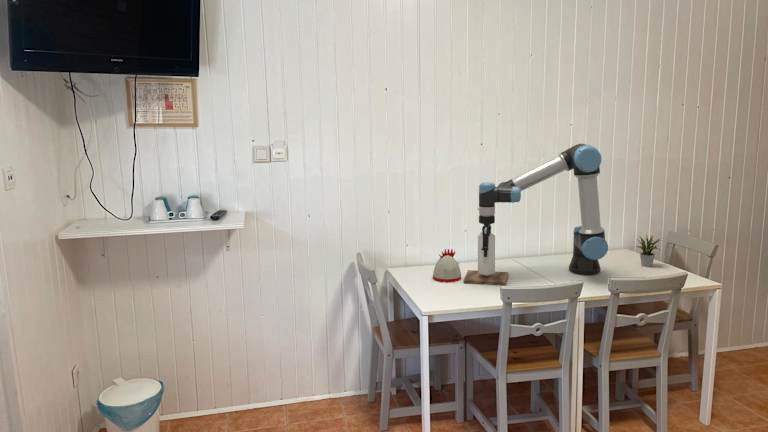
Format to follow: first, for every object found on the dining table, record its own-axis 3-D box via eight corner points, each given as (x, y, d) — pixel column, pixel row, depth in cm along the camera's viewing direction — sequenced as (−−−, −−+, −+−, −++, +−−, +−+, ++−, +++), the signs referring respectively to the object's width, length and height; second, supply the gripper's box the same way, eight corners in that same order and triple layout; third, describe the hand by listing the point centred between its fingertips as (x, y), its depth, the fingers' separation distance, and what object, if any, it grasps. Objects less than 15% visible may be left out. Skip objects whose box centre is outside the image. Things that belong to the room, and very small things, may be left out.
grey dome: (464, 281, 301) (464, 251, 299) (436, 283, 299) (436, 253, 296) (456, 273, 315) (456, 244, 312) (430, 275, 313) (429, 246, 310)
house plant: (664, 270, 311) (666, 239, 308) (634, 269, 315) (636, 237, 312) (661, 263, 324) (663, 232, 321) (632, 261, 329) (634, 231, 325)
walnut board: (508, 274, 310) (508, 271, 310) (505, 285, 293) (505, 282, 293) (468, 272, 315) (468, 270, 315) (463, 283, 298) (463, 280, 298)
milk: (486, 275, 300) (486, 231, 295) (477, 273, 304) (477, 229, 300) (495, 273, 303) (495, 229, 299) (486, 270, 308) (486, 227, 304)
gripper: (481, 210, 309) (480, 255, 313) (476, 218, 289) (476, 266, 293) (496, 211, 307) (496, 255, 312) (492, 219, 287) (492, 266, 292)
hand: (486, 260), depth 302 cm, fingers closed on milk, 8 cm apart
